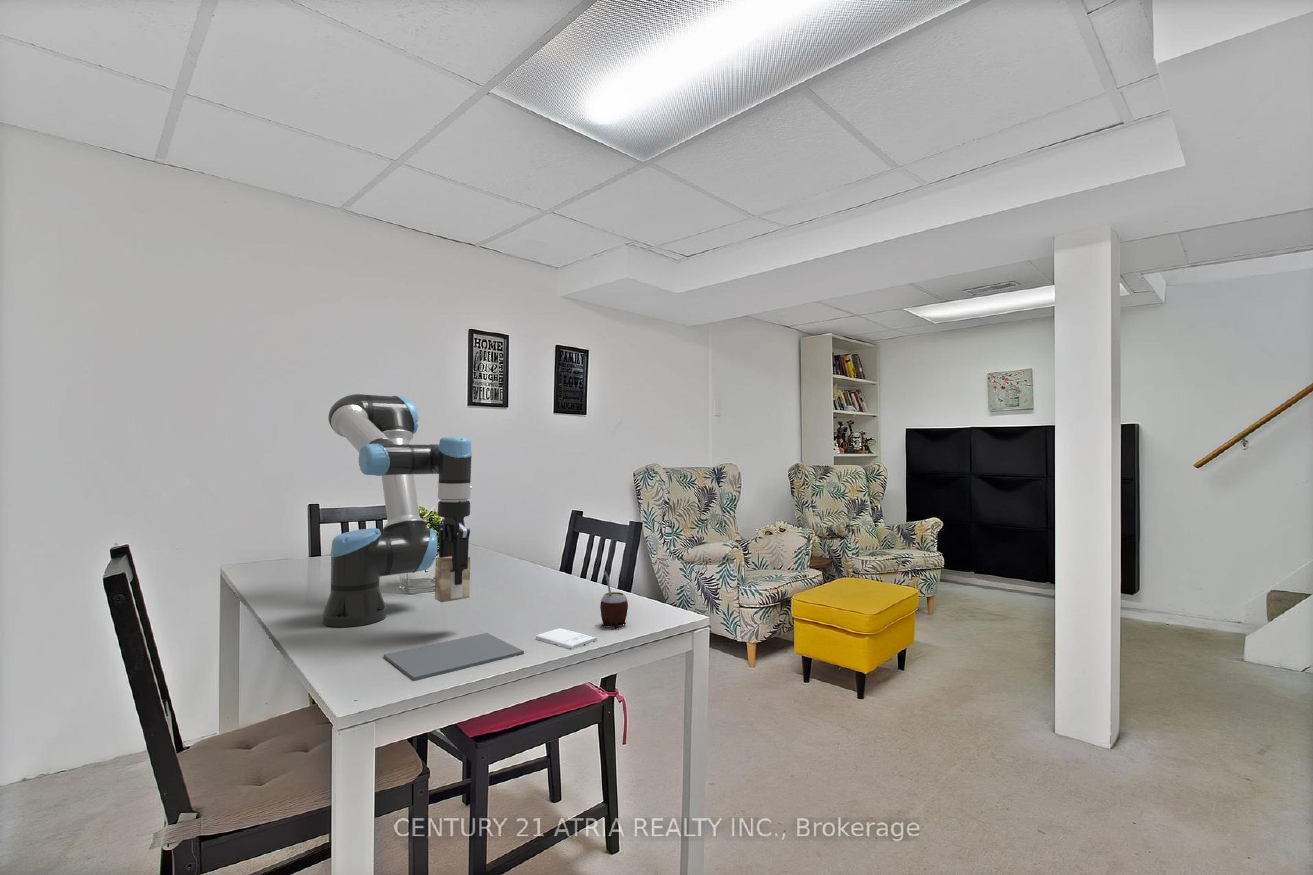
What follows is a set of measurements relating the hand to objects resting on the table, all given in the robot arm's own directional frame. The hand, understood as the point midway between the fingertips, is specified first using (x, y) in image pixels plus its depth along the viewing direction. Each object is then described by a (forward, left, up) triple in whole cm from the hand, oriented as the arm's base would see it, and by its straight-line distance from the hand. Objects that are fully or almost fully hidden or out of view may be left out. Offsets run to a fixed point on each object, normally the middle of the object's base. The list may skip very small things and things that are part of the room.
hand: (452, 595), depth 149 cm
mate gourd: (+21, +34, -10) cm, 41 cm away
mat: (+16, -6, -9) cm, 19 cm away
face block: (0, 0, -1) cm, 1 cm away
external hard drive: (+22, +19, -10) cm, 31 cm away
